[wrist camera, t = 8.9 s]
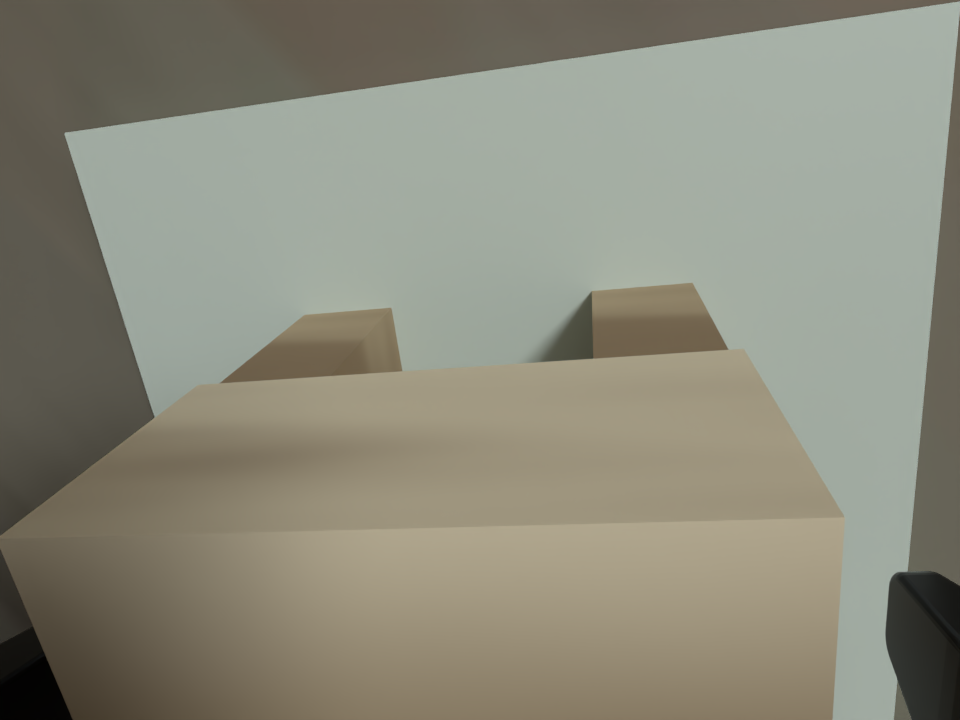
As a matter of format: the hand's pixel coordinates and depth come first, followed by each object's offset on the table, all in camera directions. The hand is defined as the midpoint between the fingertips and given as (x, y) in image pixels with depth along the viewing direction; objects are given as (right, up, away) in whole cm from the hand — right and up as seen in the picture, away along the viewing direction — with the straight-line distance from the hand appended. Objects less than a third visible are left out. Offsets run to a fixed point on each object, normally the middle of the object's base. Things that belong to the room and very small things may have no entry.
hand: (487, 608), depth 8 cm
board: (+1, +1, +4) cm, 4 cm away
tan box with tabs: (0, +1, +3) cm, 3 cm away
